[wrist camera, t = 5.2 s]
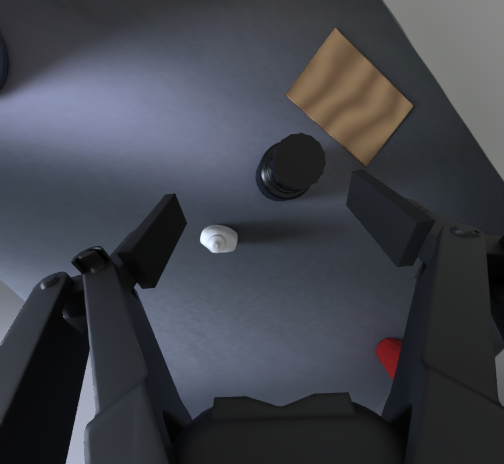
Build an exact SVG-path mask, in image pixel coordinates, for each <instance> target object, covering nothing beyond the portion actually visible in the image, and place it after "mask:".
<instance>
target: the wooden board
mask: <svg viewBox="0 0 504 464" xmlns="http://www.w3.org/2000/svg"><path fill="white" fill-rule="evenodd" d="M286 96H287V97H288V98H289V99H290V100H291V101H292V102H294V103H295V104H296V105H297V106H298V107H299V108H300V109H301V110H303V111H304V112H305V113H306V114H307V115H308V116H309V117H310V118H311V119H313V120H314V121H315V122H316V123H317V124H318V125H319V126H320V127H321V128H323V129H324V130H325V131H326V132H327V133H328V134H329V135H330V136H332V137H333V138H334V139H335V140H336V141H337V142H338V143H339V144H340V145H342V146H343V147H344V148H345V149H346V150H347V151H348V152H349V153H351V154H352V155H353V156H354V157H355V158H356V159H357V160H358V161H359V162H361V163H362V164H363V165H364V166H365V167H366V166H367V165H368V164H369V162H370V161H371V160H372V159H373V157H374V156H375V155H376V153H377V152H378V151H379V150H380V148H381V147H382V146H383V144H384V143H385V142H386V141H387V139H388V138H389V137H390V136H391V134H392V133H393V132H394V130H395V129H396V128H397V127H398V125H399V124H400V123H401V121H402V120H403V119H404V118H405V116H406V115H407V114H408V113H409V111H410V110H411V109H412V107H413V105H412V104H411V103H410V102H409V101H408V100H407V99H406V98H405V97H404V96H403V95H402V94H401V93H400V92H399V91H398V90H397V89H396V88H395V87H394V86H393V85H392V84H391V83H390V82H389V81H388V80H387V79H386V78H385V77H384V76H383V75H382V74H381V73H380V72H379V71H378V70H377V69H376V68H375V67H374V66H373V65H372V64H371V63H370V62H369V61H368V60H367V59H366V58H365V57H364V56H363V55H362V54H361V53H360V52H359V51H358V50H357V49H356V48H355V47H354V46H353V45H352V44H351V43H350V42H349V41H348V40H347V39H346V38H345V37H344V36H343V35H342V34H341V33H340V32H339V31H338V30H337V29H336V28H335V29H334V30H333V32H332V33H331V34H330V36H329V37H328V38H327V40H326V41H325V42H324V44H323V45H322V46H321V48H320V49H319V50H318V52H317V53H316V54H315V56H314V57H313V59H312V60H311V61H310V63H309V64H308V65H307V67H306V68H305V69H304V71H303V72H302V73H301V75H300V76H299V77H298V79H297V80H296V81H295V83H294V84H293V85H292V87H291V88H290V89H289V91H288V92H287V93H286Z"/></svg>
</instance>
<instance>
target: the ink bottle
mask: <svg viewBox="0 0 504 464" xmlns="http://www.w3.org/2000/svg"><path fill="white" fill-rule="evenodd" d="M324 154H325V153H324V151H323V149H322V147H321V145H320V143H319V142H318V141H316V140H315V139H314V138H313V137H312V136H309V135H305V134H303V133H300V134H291V135H289V136H288V137H286V138H285V139H283V140H281V142H279V143H277V144H275V145H273V146H272V147H270V148H269V149H268V150H267V151H266V152H265V154H264V155H263V157H262V159H261V161H260V163H259V165H258V168H257V171H256V183H257V186H258V188H259V190H260V191H261V192H262V194H263V195H265V196H266V197H267V198H269V199H271V200H274V201H286V200H291V199H295V198H297V197H299V196H301V195H302V194H304V193H305V192H306V191H307V190H308V189H309V187H310V186H311V185H312V184H314V183H316V182H317V180H318V179H319V178H320V176H321V175H322V174H323V170H324V166H325V163H326V162H325V155H324Z"/></svg>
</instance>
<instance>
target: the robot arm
mask: <svg viewBox="0 0 504 464" xmlns="http://www.w3.org/2000/svg"><path fill="white" fill-rule="evenodd" d="M7 69H8V58H7V52H6V48H5V45H4V42H3V40H2V38H1V36H0V88H1V86H2V85H3V83H4V81H5V78H6V75H7ZM346 206H347V207H348V208H349V209H350V210H351V212H352V213H353V214H354V215H355V216H356V218H357V219H358V220H359V221H360V223H361V224H362V225H363V226H364V227H365V229H366V230H367V231H368V232H369V233H370V235H371V236H372V237H373V238H374V239H375V241H376V242H377V243H378V244H379V246H380V247H381V248H382V249H383V250H384V252H385V253H386V254H387V255H388V256H389V258H390V259H391V260H392V261H393V262H394V264H395V265H396V266H397V267H401V266H412V265H413V264H414V262H415V260H416V258H417V256H418V257H419V258H420V259H421V260H422V261H423V263H422V265H421V267H420V268H419V270H418V272H417V274H416V276H415V277H414V278H417V282H416V287H415V291H414V295H413V299H412V304H411V308H410V312H409V316H408V320H407V325H406V329H405V333H404V337H403V342H402V346H401V350H400V354H399V358H398V363H397V367H396V371H395V375H394V380H393V384H392V388H391V392H390V394H389V397H388V399H387V401H386V404H385V406H384V409H383V412H382V416H379V415H378V414H377V413H375V412H373V411H372V410H370V409H368V408H366V407H364V406H362V405H360V404H357V403H354V402H352V401H351V398H350V395H349V392H347V393H321V394H313V395H310V396H308V397H305V398H303V399H300V400H298V401H295V402H293V403H290V404H288V405H285V406H281V407H280V406H275V405H272V404H269V403H266V402H262V401H259V400H256V399H253V398H250V397H246V396H243V397H216V398H214V405H213V407H211V408H209V409H207V410H206V411H204V412H202V413H201V414H200V415H198V416H197V417H196V418H194V419H193V420H192V418H191V416H190V414H189V412H188V411H187V409H186V408H185V406H184V404H183V403H182V401H181V399H180V397H179V394H178V392H177V389H176V387H175V384H174V382H173V380H172V377H171V375H170V372H169V370H168V367H167V365H166V362H165V360H164V357H163V355H162V352H161V350H160V348H159V345H158V343H157V340H156V338H155V335H154V333H153V330H152V328H151V325H150V323H149V320H148V318H147V316H146V313H145V311H144V308H143V306H142V303H141V301H140V298H139V296H138V293H137V291H136V290H135V289H134V286H135V285H136V283H138V284H139V285H140V287H141V288H142V289H146V288H155V287H156V285H157V283H158V281H159V279H160V277H161V274H162V272H163V270H164V268H165V266H166V264H167V262H168V260H169V258H170V256H171V254H172V252H173V250H174V248H175V246H176V244H177V242H178V240H179V238H180V236H181V234H182V232H183V230H184V228H185V226H186V224H187V222H186V220H185V217H184V215H183V212H182V210H181V207H180V205H179V202H178V199H177V197H176V194H167V195H165V196H164V197H163V198H162V199H161V201H160V202H159V203H158V204H157V205H156V207H155V208H154V209H153V210H152V211H151V212H150V214H149V215H148V216H147V217H146V218H145V220H144V221H143V222H142V223H141V224H140V225H139V227H138V228H137V229H135V230H134V231H133V232H131V233H130V234H129V235H128V236H127V237H126V238H125V239H124V241H122V243H121V244H120V245H119V246H118V247H117V248H116V250H115V251H114V252H113V253H112V254H111V255H110V256H109V255H108V254H107V253H106V251H105V250H104V249H103V248H102V247H101V246H95V247H91V248H88V249H86V250H84V251H82V252H80V253H79V254H77V255H76V256H75V257H74V258H73V259H72V261H71V263H72V264H73V265H74V266H75V267H76V268H77V269H78V270H79V271H80V272H81V273H82V274H81V275H78V276H75V277H72V278H71V277H70V276H69V275H68V274H67V273H66V272H58V273H54V274H52V275H49V276H47V277H46V278H44V279H42V280H41V281H40V282H39V283H38V284H37V285H36V286H35V287H34V289H33V290H32V292H31V294H30V295H29V297H28V299H27V300H26V302H25V304H24V305H23V307H22V309H21V310H20V312H19V314H18V316H17V317H16V319H15V320H14V322H13V324H12V326H11V327H10V329H9V330H8V332H7V334H6V336H5V337H4V339H3V341H2V342H1V344H0V464H66V459H67V455H68V450H69V445H70V440H71V436H72V430H73V426H74V421H75V416H76V412H77V407H78V402H79V398H80V393H81V388H82V383H83V379H84V374H85V369H86V365H87V360H88V355H89V350H90V356H91V366H92V376H93V386H94V397H95V406H96V415H95V417H94V419H93V420H92V421H90V422H89V423H88V424H87V426H86V429H85V432H84V455H85V464H504V406H502V405H501V403H500V402H499V398H498V391H497V379H496V368H495V355H494V342H493V330H492V318H491V315H492V317H493V319H494V321H495V324H496V326H497V328H498V330H499V332H500V334H501V336H502V338H503V340H504V235H503V236H492V235H484V234H483V232H481V231H480V230H479V229H477V228H474V227H472V226H469V225H466V224H461V223H447V222H446V221H444V220H443V219H441V218H440V217H438V216H437V215H435V214H434V213H432V212H431V211H429V210H428V209H426V208H425V207H424V208H423V206H422V205H420V204H419V203H417V202H416V201H413V200H410V199H408V198H403V197H402V196H400V195H399V194H397V193H396V192H395V191H393V190H392V189H390V188H389V187H387V186H386V185H385V184H383V183H382V182H380V181H379V180H377V179H376V178H375V177H373V176H372V175H370V174H369V173H367V172H366V171H365V170H357V171H352V176H351V181H350V187H349V193H348V198H347V204H346ZM63 316H64V317H63Z"/></svg>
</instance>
